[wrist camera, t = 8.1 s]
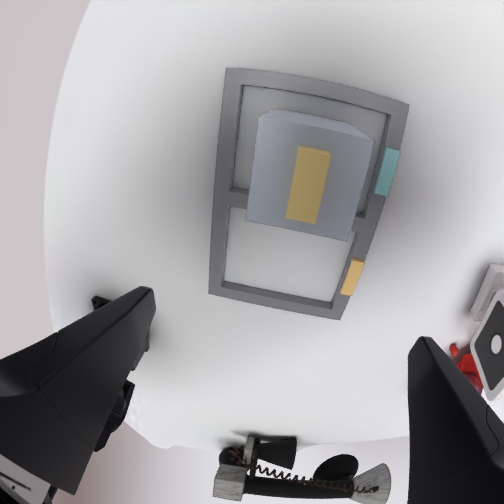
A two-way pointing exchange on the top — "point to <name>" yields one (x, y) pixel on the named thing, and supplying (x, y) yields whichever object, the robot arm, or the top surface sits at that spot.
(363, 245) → the dock
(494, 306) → the security camera
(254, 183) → the plug
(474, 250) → the top surface
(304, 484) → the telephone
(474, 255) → the top surface
